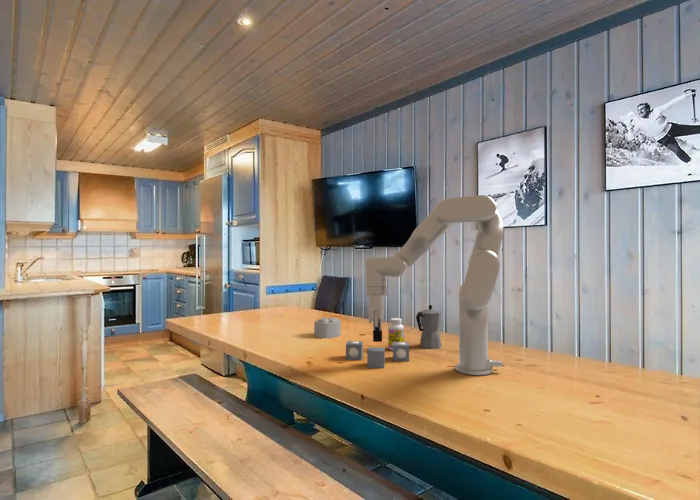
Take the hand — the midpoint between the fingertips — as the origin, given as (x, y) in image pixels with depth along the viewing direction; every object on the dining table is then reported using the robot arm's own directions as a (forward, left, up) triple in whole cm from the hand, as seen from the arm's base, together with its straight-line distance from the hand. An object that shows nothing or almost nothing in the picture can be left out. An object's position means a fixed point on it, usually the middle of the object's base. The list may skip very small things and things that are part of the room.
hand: (377, 341), depth 156 cm
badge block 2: (-8, -10, -9) cm, 16 cm away
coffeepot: (-20, -32, -9) cm, 39 cm away
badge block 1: (+10, -10, -9) cm, 17 cm away
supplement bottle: (-6, -26, -9) cm, 28 cm away
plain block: (+1, 0, -9) cm, 9 cm away
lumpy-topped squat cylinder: (+27, -51, -9) cm, 58 cm away
